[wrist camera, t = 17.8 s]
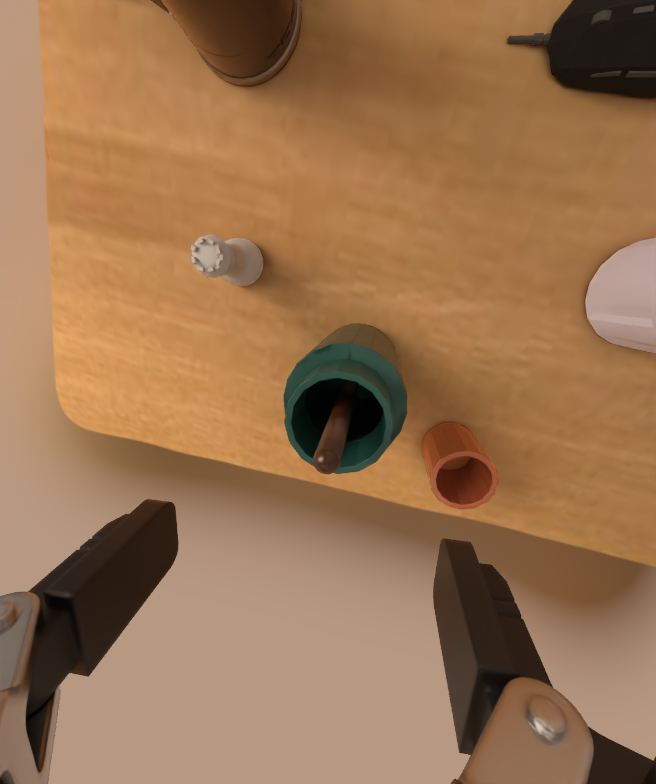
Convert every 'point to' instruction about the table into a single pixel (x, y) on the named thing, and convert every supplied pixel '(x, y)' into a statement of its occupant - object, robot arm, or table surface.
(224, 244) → the rook chess piece
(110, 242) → the table surface
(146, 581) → the robot arm
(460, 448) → the brush pot
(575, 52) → the gaming mouse
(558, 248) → the table surface
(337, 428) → the brush
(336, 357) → the teal bottle
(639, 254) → the soap bottle
